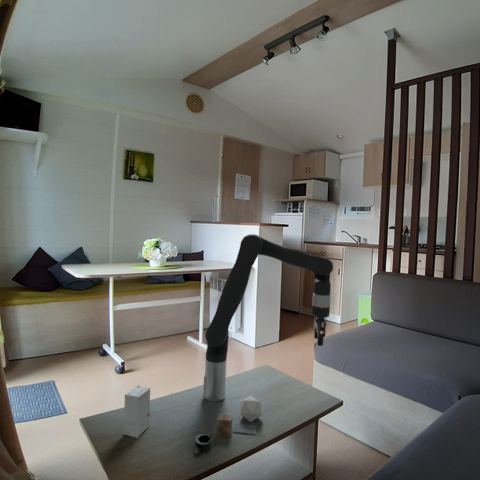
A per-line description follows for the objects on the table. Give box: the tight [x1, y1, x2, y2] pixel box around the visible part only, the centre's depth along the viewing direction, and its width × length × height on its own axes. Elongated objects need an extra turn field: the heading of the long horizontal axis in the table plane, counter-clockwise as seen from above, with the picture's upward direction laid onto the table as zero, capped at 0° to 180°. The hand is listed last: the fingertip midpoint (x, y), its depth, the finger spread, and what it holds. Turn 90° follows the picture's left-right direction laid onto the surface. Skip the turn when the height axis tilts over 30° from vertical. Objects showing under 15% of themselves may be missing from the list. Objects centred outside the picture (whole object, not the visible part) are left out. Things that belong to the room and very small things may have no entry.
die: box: [239, 394, 263, 423], centre depth 139 cm, size 8×9×10 cm
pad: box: [233, 423, 257, 435], centre depth 131 cm, size 8×5×1 cm, turn 85°
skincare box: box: [123, 385, 151, 439], centre depth 128 cm, size 8×6×15 cm
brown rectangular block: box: [216, 413, 233, 437], centre depth 129 cm, size 5×4×6 cm
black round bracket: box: [193, 433, 214, 455], centre depth 121 cm, size 8×10×3 cm
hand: (318, 341), depth 149 cm, fingers open, 8 cm apart
